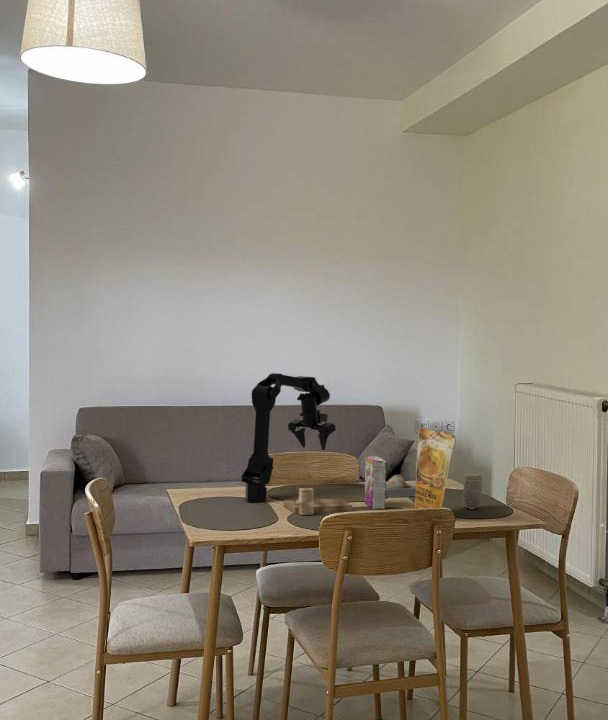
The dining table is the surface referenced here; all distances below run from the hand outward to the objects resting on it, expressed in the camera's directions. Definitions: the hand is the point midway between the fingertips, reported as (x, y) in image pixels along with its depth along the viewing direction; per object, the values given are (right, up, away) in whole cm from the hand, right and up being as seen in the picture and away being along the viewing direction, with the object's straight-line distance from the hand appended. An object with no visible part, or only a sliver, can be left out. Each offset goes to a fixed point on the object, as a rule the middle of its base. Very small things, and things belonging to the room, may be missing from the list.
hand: (313, 448), depth 317 cm
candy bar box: (+20, -17, -30) cm, 40 cm away
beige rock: (+29, -17, -7) cm, 34 cm away
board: (+1, -16, -38) cm, 41 cm away
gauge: (-4, -16, -45) cm, 48 cm away
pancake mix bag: (+37, -18, -44) cm, 60 cm away
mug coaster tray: (+29, -16, -6) cm, 34 cm away
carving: (+54, -18, -30) cm, 64 cm away
